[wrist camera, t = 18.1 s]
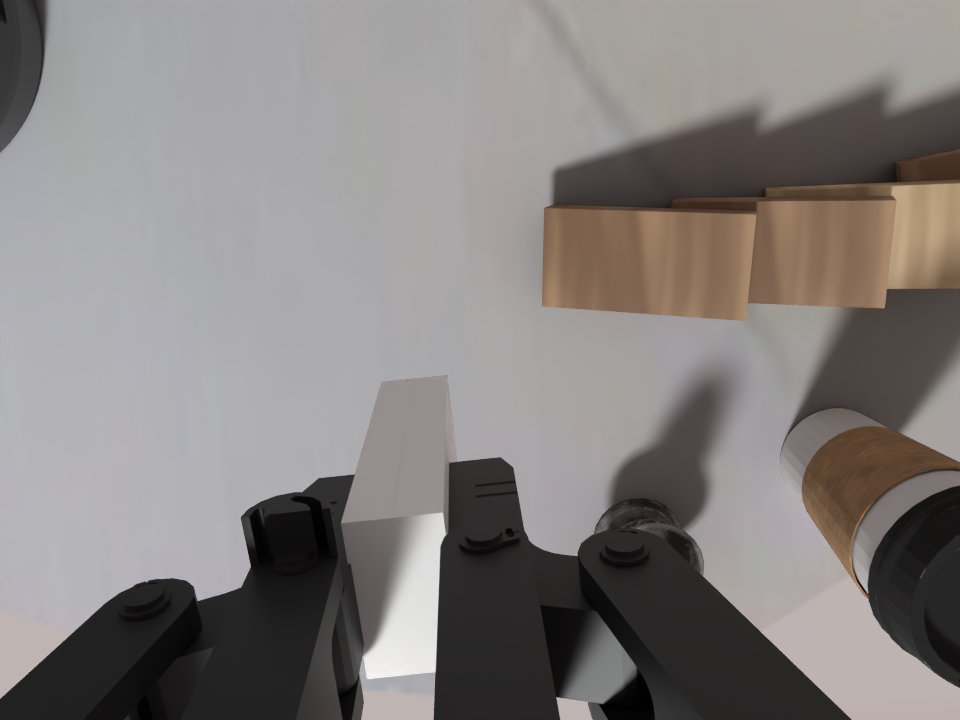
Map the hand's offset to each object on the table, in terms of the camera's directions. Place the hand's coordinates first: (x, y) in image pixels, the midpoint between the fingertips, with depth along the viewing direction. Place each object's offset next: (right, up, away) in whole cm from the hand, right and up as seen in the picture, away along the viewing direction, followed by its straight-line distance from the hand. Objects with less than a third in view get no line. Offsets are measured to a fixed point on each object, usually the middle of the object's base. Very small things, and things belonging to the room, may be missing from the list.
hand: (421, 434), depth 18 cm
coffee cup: (+22, -4, +27) cm, 35 cm away
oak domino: (+16, +8, +22) cm, 29 cm away
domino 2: (+11, +7, +22) cm, 26 cm away
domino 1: (+5, +7, +22) cm, 24 cm away
